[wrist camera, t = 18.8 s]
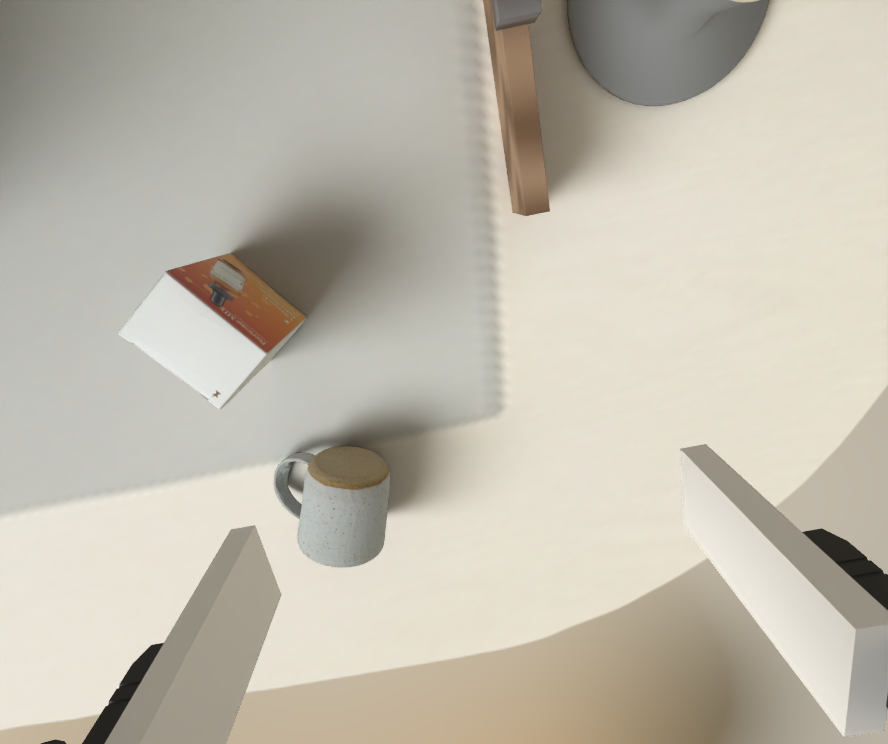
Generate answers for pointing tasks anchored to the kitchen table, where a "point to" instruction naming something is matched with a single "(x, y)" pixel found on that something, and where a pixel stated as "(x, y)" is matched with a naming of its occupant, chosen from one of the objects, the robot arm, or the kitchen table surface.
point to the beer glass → (678, 16)
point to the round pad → (658, 51)
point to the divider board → (518, 101)
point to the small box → (212, 325)
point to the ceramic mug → (339, 504)
